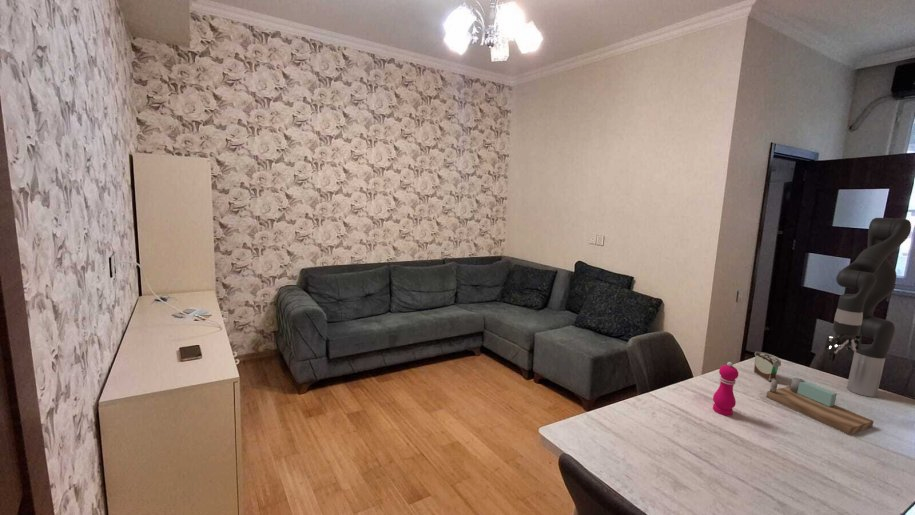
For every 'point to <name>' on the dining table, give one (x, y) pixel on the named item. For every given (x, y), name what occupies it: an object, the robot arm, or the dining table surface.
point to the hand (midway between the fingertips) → (839, 360)
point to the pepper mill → (725, 390)
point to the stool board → (819, 410)
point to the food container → (766, 365)
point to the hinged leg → (813, 392)
